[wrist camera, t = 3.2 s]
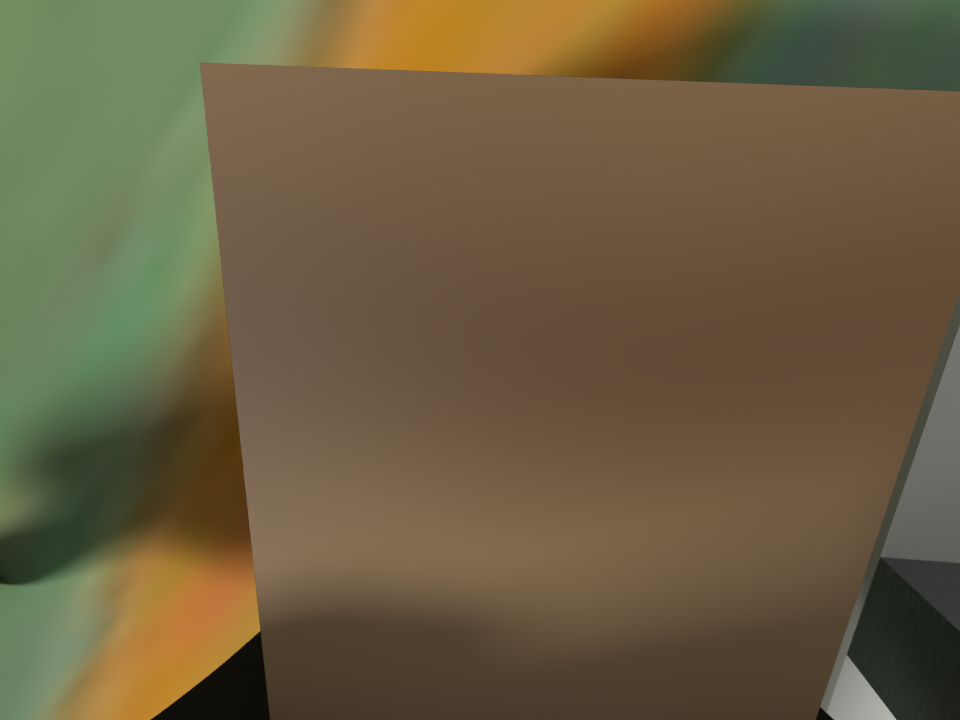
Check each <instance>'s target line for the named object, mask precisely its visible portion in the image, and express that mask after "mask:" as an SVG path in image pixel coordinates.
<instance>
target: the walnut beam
mask: <svg viewBox="0 0 960 720" xmlns="http://www.w3.org/2000/svg"><path fill="white" fill-rule="evenodd" d="M200 69H201V78H202V88H203V97H204V106H205V116H206V125H207V134H208V144H209V153H210V162H211V172H212V181H213V190H214V200H215V209H216V218H217V228H218V237H219V247H220V256H221V265H222V275H223V284H224V293H225V303H226V312H227V321H228V331H229V340H230V349H231V359H232V368H233V377H234V387H235V396H236V405H237V415H238V424H239V434H240V443H241V452H242V462H243V471H244V480H245V490H246V499H247V508H248V518H249V527H250V536H251V546H252V555H253V564H254V574H255V583H256V592H257V602H258V611H259V621H260V630H261V639H262V649H263V658H264V667H265V677H266V686H267V695H268V705H269V714H270V720H816V718H817V715H818V712H819V709H820V706H821V703H822V700H823V697H824V694H825V691H826V688H827V685H828V682H829V679H830V676H831V673H832V670H833V667H834V664H835V661H836V658H837V655H838V652H839V649H840V646H841V643H842V640H843V637H844V634H845V631H846V629H847V626H848V623H849V620H850V617H851V614H852V611H853V608H854V605H855V602H856V599H857V596H858V593H859V590H860V587H861V584H862V581H863V578H864V575H865V572H866V569H867V566H868V563H869V560H870V557H871V554H872V551H873V548H874V545H875V542H876V539H877V536H878V533H879V531H880V528H881V525H882V522H883V519H884V516H885V513H886V510H887V507H888V504H889V501H890V498H891V495H892V492H893V489H894V486H895V483H896V480H897V477H898V474H899V471H900V468H901V465H902V462H903V459H904V456H905V453H906V450H907V447H908V444H909V441H910V438H911V435H912V433H913V430H914V427H915V424H916V421H917V418H918V415H919V412H920V409H921V406H922V403H923V400H924V397H925V394H926V391H927V388H928V385H929V382H930V379H931V376H932V373H933V370H934V367H935V364H936V361H937V358H938V355H939V352H940V349H941V346H942V343H943V340H944V337H945V334H946V332H947V329H948V326H949V323H950V320H951V317H952V314H953V311H954V308H955V305H956V302H957V299H958V296H959V293H960V91H934V90H908V89H882V88H855V87H829V86H802V85H776V84H749V83H723V82H697V81H670V80H644V79H617V78H591V77H565V76H538V75H512V74H485V73H459V72H432V71H406V70H380V69H353V68H327V67H300V66H274V65H247V64H221V63H200Z"/></svg>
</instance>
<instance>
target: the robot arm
mask: <svg viewBox="0 0 960 720" xmlns="http://www.w3.org/2000/svg"><path fill="white" fill-rule="evenodd" d="M151 720H270V714H269V705H268V695H267V686H266V677H265V667H264V658H263V649H262V639H261V631H260V632H259V633H258V634H257V635H255V636H254V637H253V638H252V639H251V640H250V641H249V642H247V643H246V644H245V645H244V646H243V647H242V648H241V649H240V650H238V651H237V652H236V653H235V654H234V655H233V656H232V657H230V658H229V659H228V660H227V661H226V662H224V663H223V664H222V665H221V666H220V667H218V668H217V669H216V670H215V671H214V672H212V673H211V674H210V675H209V676H207V677H206V678H205V679H204V680H202V681H201V682H200V683H199V684H197V685H196V686H195V687H194V688H192V689H191V690H190V691H188V692H187V693H186V694H184V695H183V696H182V697H181V698H179V699H178V700H177V701H175V702H174V703H173V704H171V705H170V706H169V707H167V708H166V709H165V710H163V711H162V712H161V713H159V714H158V715H157V716H155V717H154V718H152V719H151ZM816 720H834V719H833V718H832V717H831V716H830V715H829V714H827V713H826V712H825V711H824V710H823V709H822V708H821V707H820V709H819V712H818V715H817V718H816Z"/></svg>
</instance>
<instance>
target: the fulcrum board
mask: <svg viewBox="0 0 960 720" xmlns="http://www.w3.org/2000/svg"><path fill="white" fill-rule="evenodd" d="M820 707H821V708H822V709H823V710H824V711H825V712H826V713H827V714H829V715H830V716H831V717H832V718H833V719H834V720H960V293H959V296H958V299H957V302H956V305H955V308H954V311H953V314H952V317H951V320H950V323H949V326H948V329H947V332H946V334H945V337H944V340H943V343H942V346H941V349H940V352H939V355H938V358H937V361H936V364H935V367H934V370H933V373H932V376H931V379H930V382H929V385H928V388H927V391H926V394H925V397H924V400H923V403H922V406H921V409H920V412H919V415H918V418H917V421H916V424H915V427H914V430H913V433H912V435H911V438H910V441H909V444H908V447H907V450H906V453H905V456H904V459H903V462H902V465H901V468H900V471H899V474H898V477H897V480H896V483H895V486H894V489H893V492H892V495H891V498H890V501H889V504H888V507H887V510H886V513H885V516H884V519H883V522H882V525H881V528H880V531H879V533H878V536H877V539H876V542H875V545H874V548H873V551H872V554H871V557H870V560H869V563H868V566H867V569H866V572H865V575H864V578H863V581H862V584H861V587H860V590H859V593H858V596H857V599H856V602H855V605H854V608H853V611H852V614H851V617H850V620H849V623H848V626H847V629H846V631H845V634H844V637H843V640H842V643H841V646H840V649H839V652H838V655H837V658H836V661H835V664H834V667H833V670H832V673H831V676H830V679H829V682H828V685H827V688H826V691H825V694H824V697H823V700H822V703H821V706H820Z"/></svg>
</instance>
